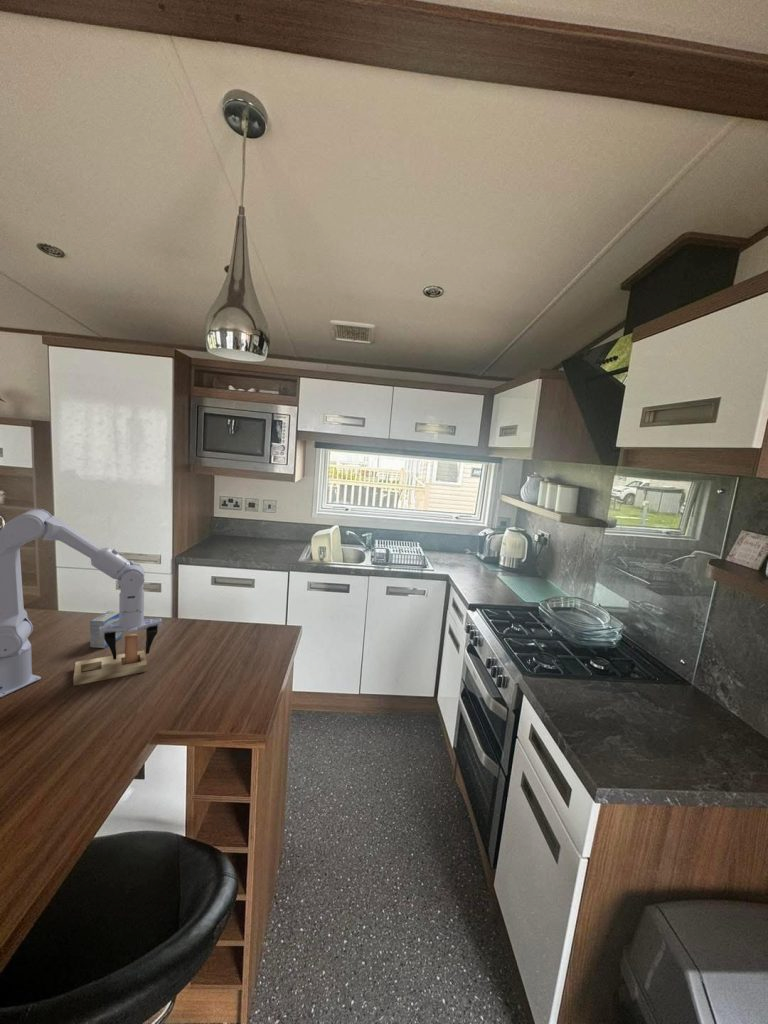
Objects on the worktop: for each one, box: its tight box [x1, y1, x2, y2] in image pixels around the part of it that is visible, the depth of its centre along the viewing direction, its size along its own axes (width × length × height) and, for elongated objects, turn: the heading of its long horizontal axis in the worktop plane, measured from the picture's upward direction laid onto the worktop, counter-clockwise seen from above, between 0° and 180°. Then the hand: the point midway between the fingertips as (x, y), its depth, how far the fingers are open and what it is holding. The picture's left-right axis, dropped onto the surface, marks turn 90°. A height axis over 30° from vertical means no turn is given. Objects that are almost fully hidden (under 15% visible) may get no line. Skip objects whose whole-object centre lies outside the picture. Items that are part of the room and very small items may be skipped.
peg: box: [124, 633, 139, 665], centre depth 110 cm, size 3×3×9 cm
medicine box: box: [89, 610, 123, 649], centre depth 122 cm, size 8×4×9 cm, turn 179°
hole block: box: [73, 649, 148, 686], centre depth 108 cm, size 16×9×2 cm, turn 125°
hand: (131, 654), depth 111 cm, fingers open, 7 cm apart
